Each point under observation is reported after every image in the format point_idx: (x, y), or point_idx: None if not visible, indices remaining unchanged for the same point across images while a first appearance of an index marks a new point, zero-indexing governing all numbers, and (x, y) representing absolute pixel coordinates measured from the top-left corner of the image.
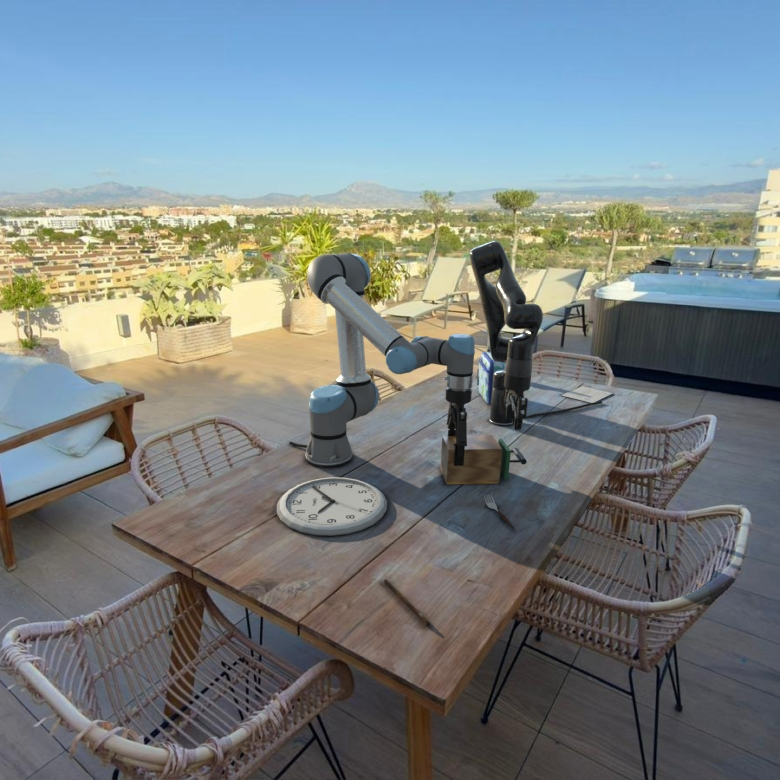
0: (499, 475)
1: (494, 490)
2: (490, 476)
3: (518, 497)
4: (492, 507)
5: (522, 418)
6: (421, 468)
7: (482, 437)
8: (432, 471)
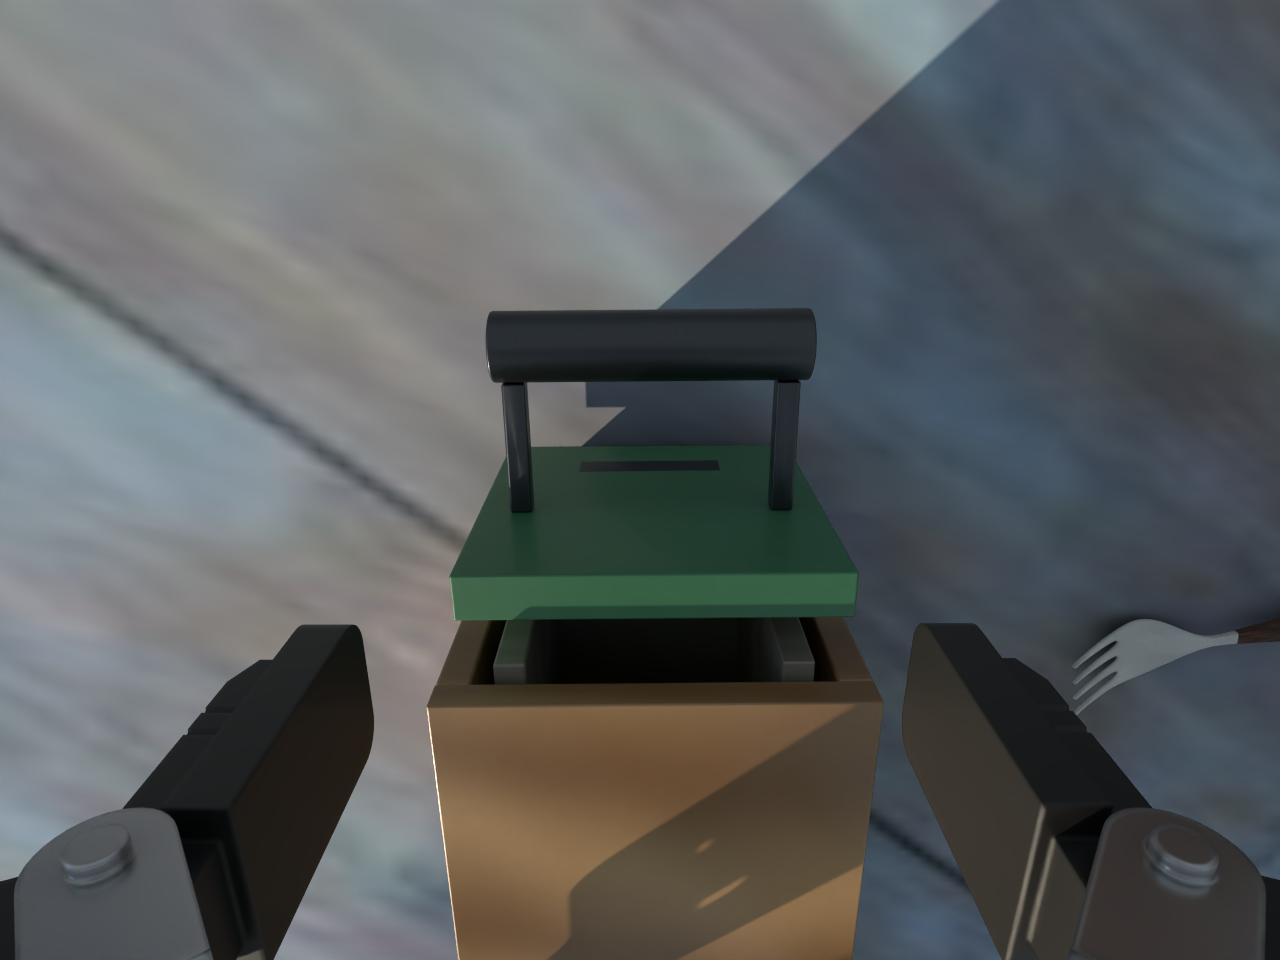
0: None
1: (900, 571)
2: None
3: (1043, 423)
4: (1163, 653)
5: (1110, 806)
6: None
7: (510, 827)
8: None
